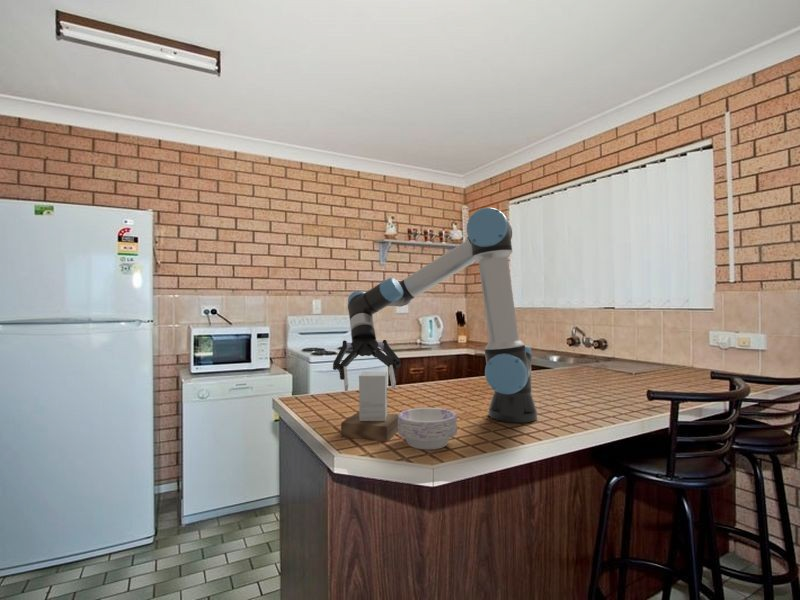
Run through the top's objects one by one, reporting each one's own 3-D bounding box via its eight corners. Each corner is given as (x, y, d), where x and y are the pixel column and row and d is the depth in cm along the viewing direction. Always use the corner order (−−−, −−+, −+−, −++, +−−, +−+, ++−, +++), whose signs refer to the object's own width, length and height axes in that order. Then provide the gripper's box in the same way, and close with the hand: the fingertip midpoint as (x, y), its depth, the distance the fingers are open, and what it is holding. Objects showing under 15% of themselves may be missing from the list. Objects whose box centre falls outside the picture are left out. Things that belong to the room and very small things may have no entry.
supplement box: (387, 415, 123) (387, 371, 124) (385, 422, 116) (385, 375, 116) (362, 414, 124) (362, 371, 124) (358, 421, 116) (358, 375, 117)
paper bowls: (391, 438, 115) (391, 408, 115) (443, 433, 119) (443, 405, 119) (407, 457, 100) (407, 423, 101) (466, 451, 105) (466, 419, 105)
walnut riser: (401, 428, 124) (401, 414, 124) (386, 442, 111) (386, 426, 112) (359, 424, 128) (359, 411, 128) (341, 437, 115) (341, 422, 115)
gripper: (398, 338, 141) (410, 392, 126) (322, 339, 135) (325, 396, 121) (402, 322, 136) (415, 377, 121) (323, 323, 130) (326, 381, 115)
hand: (370, 387), depth 121 cm, fingers open, 13 cm apart
